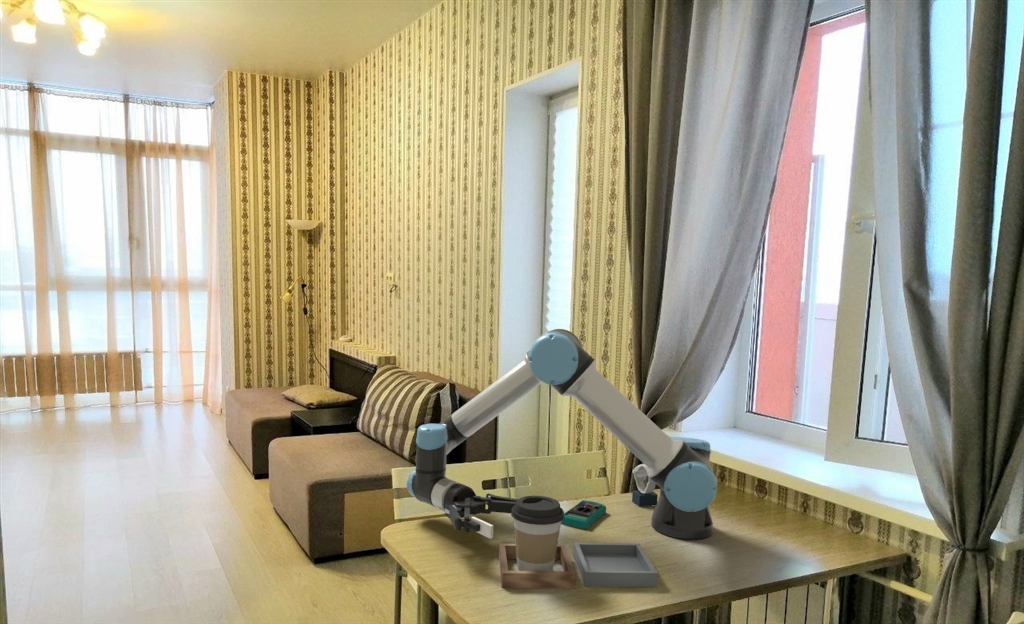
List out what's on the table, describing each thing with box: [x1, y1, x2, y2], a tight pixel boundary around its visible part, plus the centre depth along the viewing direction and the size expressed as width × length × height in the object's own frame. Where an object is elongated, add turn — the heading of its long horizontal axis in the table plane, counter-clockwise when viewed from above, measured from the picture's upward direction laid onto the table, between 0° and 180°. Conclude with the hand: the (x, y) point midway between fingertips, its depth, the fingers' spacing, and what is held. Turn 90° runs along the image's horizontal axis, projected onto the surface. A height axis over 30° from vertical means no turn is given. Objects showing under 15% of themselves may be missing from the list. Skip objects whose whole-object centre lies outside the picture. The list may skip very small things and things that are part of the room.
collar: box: [498, 542, 577, 589], centre depth 145 cm, size 15×15×3 cm
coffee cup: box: [510, 495, 565, 571], centre depth 145 cm, size 11×11×15 cm
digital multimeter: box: [561, 499, 607, 530], centre depth 178 cm, size 7×15×3 cm, turn 152°
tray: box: [572, 542, 658, 588], centre depth 147 cm, size 15×15×3 cm
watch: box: [631, 463, 659, 508], centre depth 191 cm, size 6×8×11 cm
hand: (515, 524), depth 149 cm, fingers open, 13 cm apart
